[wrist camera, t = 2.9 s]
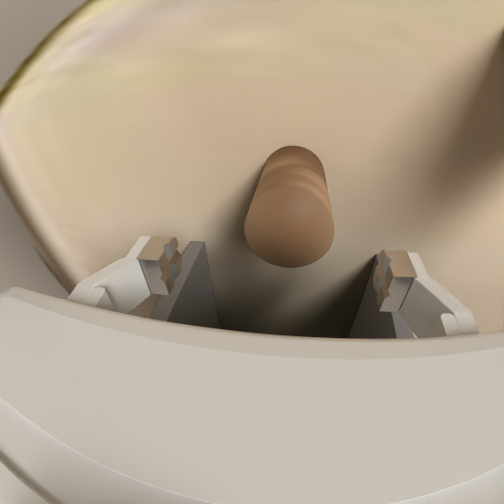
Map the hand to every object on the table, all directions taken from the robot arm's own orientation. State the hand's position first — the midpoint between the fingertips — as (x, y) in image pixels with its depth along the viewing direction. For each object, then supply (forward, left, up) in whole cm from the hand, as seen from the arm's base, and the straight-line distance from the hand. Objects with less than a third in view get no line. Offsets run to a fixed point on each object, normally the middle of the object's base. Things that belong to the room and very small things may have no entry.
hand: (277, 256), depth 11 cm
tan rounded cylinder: (0, 0, -9) cm, 9 cm away
